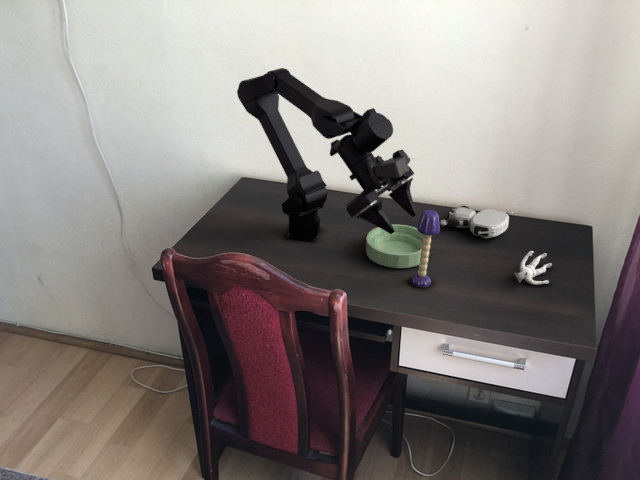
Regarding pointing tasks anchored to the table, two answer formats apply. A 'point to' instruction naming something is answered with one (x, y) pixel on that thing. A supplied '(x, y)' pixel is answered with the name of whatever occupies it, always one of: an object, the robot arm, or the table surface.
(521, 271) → the white figurine
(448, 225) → the robot toy
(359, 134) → the robot arm
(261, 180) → the table surface
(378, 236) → the bowl
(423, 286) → the toy lamp
